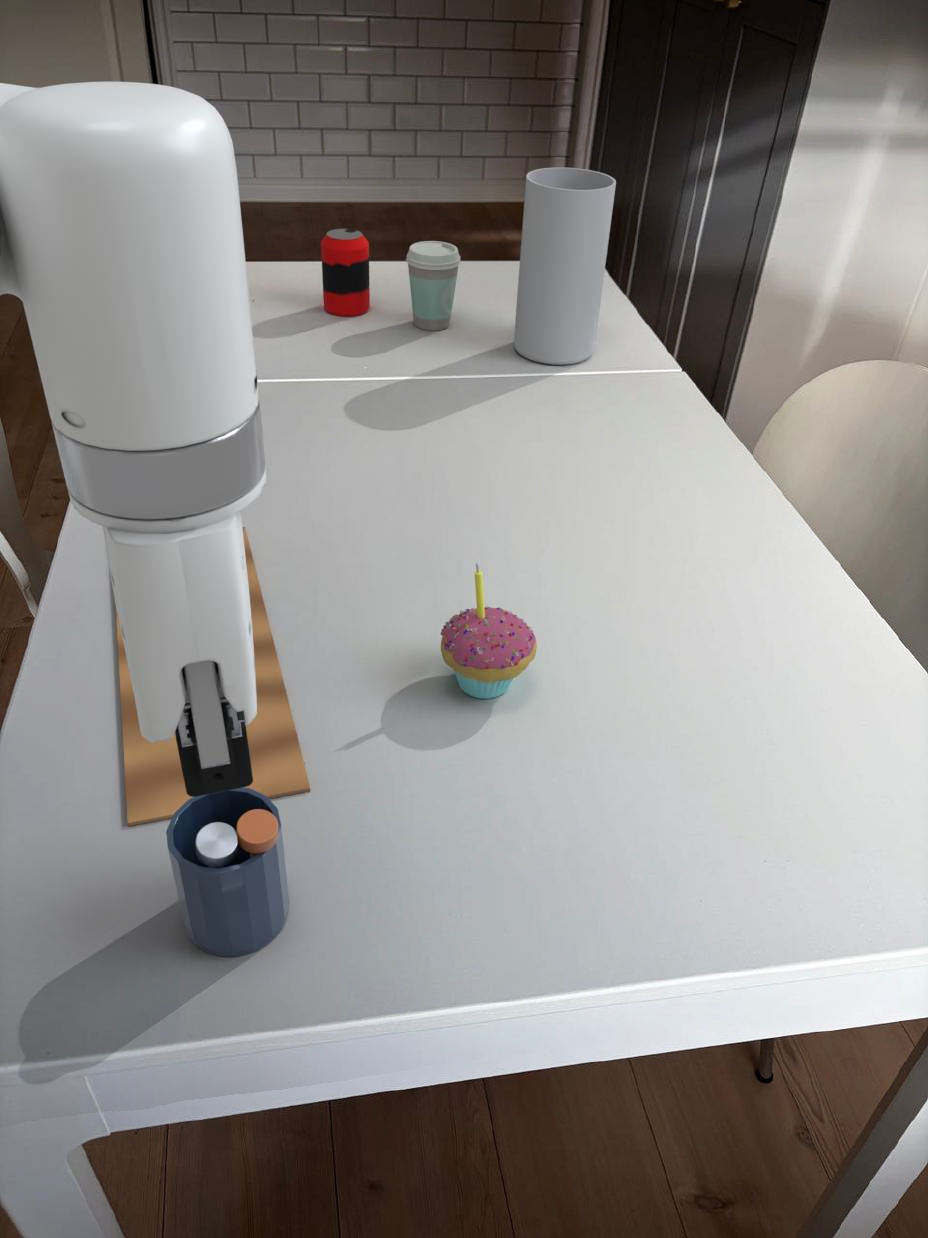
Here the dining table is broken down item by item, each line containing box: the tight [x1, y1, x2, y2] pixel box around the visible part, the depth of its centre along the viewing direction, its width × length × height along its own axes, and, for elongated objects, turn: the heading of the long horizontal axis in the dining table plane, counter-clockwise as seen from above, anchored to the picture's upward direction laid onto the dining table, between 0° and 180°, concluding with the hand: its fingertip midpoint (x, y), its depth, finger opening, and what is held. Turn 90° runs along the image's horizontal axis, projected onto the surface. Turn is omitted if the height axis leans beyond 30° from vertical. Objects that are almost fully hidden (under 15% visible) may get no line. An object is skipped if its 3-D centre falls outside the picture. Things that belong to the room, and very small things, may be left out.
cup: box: [165, 788, 290, 958], centre depth 67 cm, size 7×7×9 cm
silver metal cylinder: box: [195, 822, 238, 868], centre depth 66 cm, size 3×3×10 cm
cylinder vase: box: [513, 167, 617, 366], centre depth 146 cm, size 12×12×25 cm
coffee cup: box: [405, 240, 462, 332], centre depth 156 cm, size 8×9×12 cm
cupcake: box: [440, 562, 538, 700], centre depth 87 cm, size 9×8×12 cm
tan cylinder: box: [237, 809, 278, 858], centre depth 66 cm, size 3×3×10 cm
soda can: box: [320, 228, 371, 317], centre depth 160 cm, size 8×8×12 cm
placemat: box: [114, 526, 311, 827], centre depth 92 cm, size 40×14×1 cm, turn 17°
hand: (219, 779), depth 49 cm, fingers closed
